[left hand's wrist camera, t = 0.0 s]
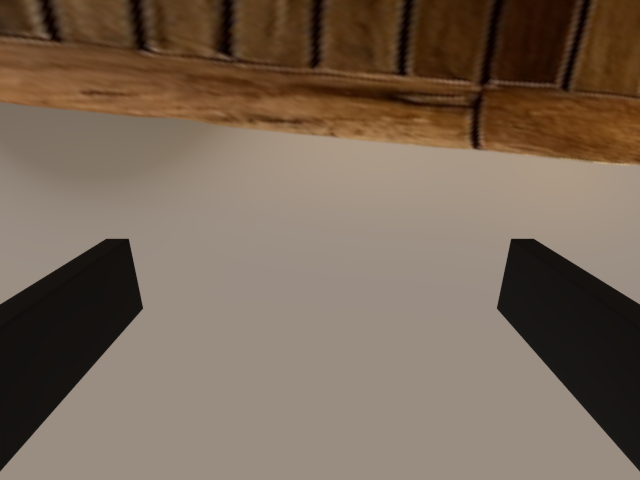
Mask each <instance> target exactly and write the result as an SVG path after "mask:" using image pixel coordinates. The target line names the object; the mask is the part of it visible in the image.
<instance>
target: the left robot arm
mask: <svg viewBox="0 0 640 480" xmlns="http://www.w3.org/2000/svg"><path fill="white" fill-rule="evenodd" d="M142 309H143V306H142V301H141V296H140V291H139V287H138V281H137V277H136V272H135V267H134V262H133V257H132V252H131V248H130V243H129V239H105V240H104V241H102V242H101V243H99V244H97V245H96V246H94V247H92V248H91V249H89V250H88V251H86V252H84V253H83V254H81V255H79V256H78V257H76V258H75V259H73V260H71V261H70V262H68V263H67V264H65V265H63V266H62V267H60V268H58V269H57V270H55V271H54V272H52V273H50V274H49V275H47V276H46V277H44V278H42V279H41V280H39V281H37V282H36V283H34V284H33V285H31V286H29V287H28V288H26V289H25V290H23V291H21V292H20V293H18V294H16V295H15V296H13V297H12V298H10V299H8V300H7V301H5V302H4V303H2V304H0V471H1V470H2V469H3V468H4V466H5V465H6V464H7V463H8V462H9V461H10V460H11V458H12V457H13V456H14V455H15V454H16V453H17V452H18V450H19V449H20V448H21V447H22V446H23V445H24V444H25V442H26V441H27V440H28V439H29V438H30V437H31V436H32V434H33V433H34V432H35V431H36V430H37V429H38V428H39V426H40V425H41V424H42V423H43V422H44V421H45V420H46V419H47V417H48V416H49V415H50V414H51V413H52V412H53V411H54V409H55V408H56V407H57V406H58V405H59V404H60V403H61V401H62V400H63V399H64V398H65V397H66V396H67V395H68V393H69V392H70V391H71V390H72V389H73V388H74V387H75V385H76V384H77V383H78V382H79V381H80V380H81V379H82V377H83V376H84V375H85V374H86V373H87V372H88V371H89V369H90V368H91V367H92V366H93V365H94V364H95V363H96V361H97V360H98V359H99V358H100V357H101V356H102V355H103V354H104V352H105V351H106V350H107V349H108V348H109V347H110V346H111V344H112V343H113V342H114V341H115V340H116V339H117V338H118V336H119V335H120V334H121V333H122V332H123V331H124V330H125V328H126V327H127V326H128V325H129V324H130V323H131V322H132V320H133V319H134V318H135V317H136V316H137V315H138V314H139V313H140V311H141V310H142ZM497 309H498V310H499V311H500V312H501V314H502V315H503V316H504V317H505V318H506V319H507V320H508V322H509V323H510V324H511V325H512V326H513V327H514V328H515V330H516V331H517V332H518V333H519V334H520V335H521V336H522V338H523V339H524V340H525V341H526V342H527V343H528V344H529V346H530V347H531V348H532V349H533V350H534V351H535V352H536V354H537V355H538V356H539V357H540V358H541V359H542V360H543V362H544V363H545V364H546V365H547V366H548V367H549V368H550V370H551V371H552V372H553V373H554V374H555V375H556V376H557V377H558V379H559V380H560V381H561V382H562V383H563V384H564V385H565V387H566V388H567V389H568V390H569V391H570V392H571V393H572V395H573V396H574V397H575V398H576V399H577V400H578V401H579V403H580V404H581V405H582V406H583V407H584V408H585V409H586V411H587V412H588V413H589V414H590V415H591V416H592V417H593V419H594V420H595V421H596V422H597V423H598V424H599V425H600V426H601V428H602V429H603V430H604V431H605V432H606V433H607V434H608V436H609V437H610V438H611V439H612V440H613V441H614V442H615V444H616V445H617V446H618V447H619V448H620V449H621V450H622V452H623V453H624V454H625V455H626V456H627V457H628V458H629V460H630V461H631V462H632V463H633V464H634V465H635V466H636V467H637V469H638V470H639V471H640V304H638V303H637V302H635V301H633V300H632V299H630V298H628V297H627V296H625V295H624V294H622V293H620V292H619V291H617V290H615V289H614V288H612V287H611V286H609V285H607V284H606V283H604V282H603V281H601V280H599V279H598V278H596V277H594V276H593V275H591V274H590V273H588V272H586V271H585V270H583V269H582V268H580V267H578V266H577V265H575V264H573V263H572V262H570V261H569V260H567V259H565V258H564V257H562V256H561V255H559V254H557V253H556V252H554V251H552V250H551V249H549V248H547V247H546V246H544V245H543V244H541V243H539V242H538V241H536V240H535V239H511V243H510V248H509V252H508V257H507V262H506V267H505V272H504V277H503V281H502V286H501V291H500V296H499V301H498V306H497Z"/></svg>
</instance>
